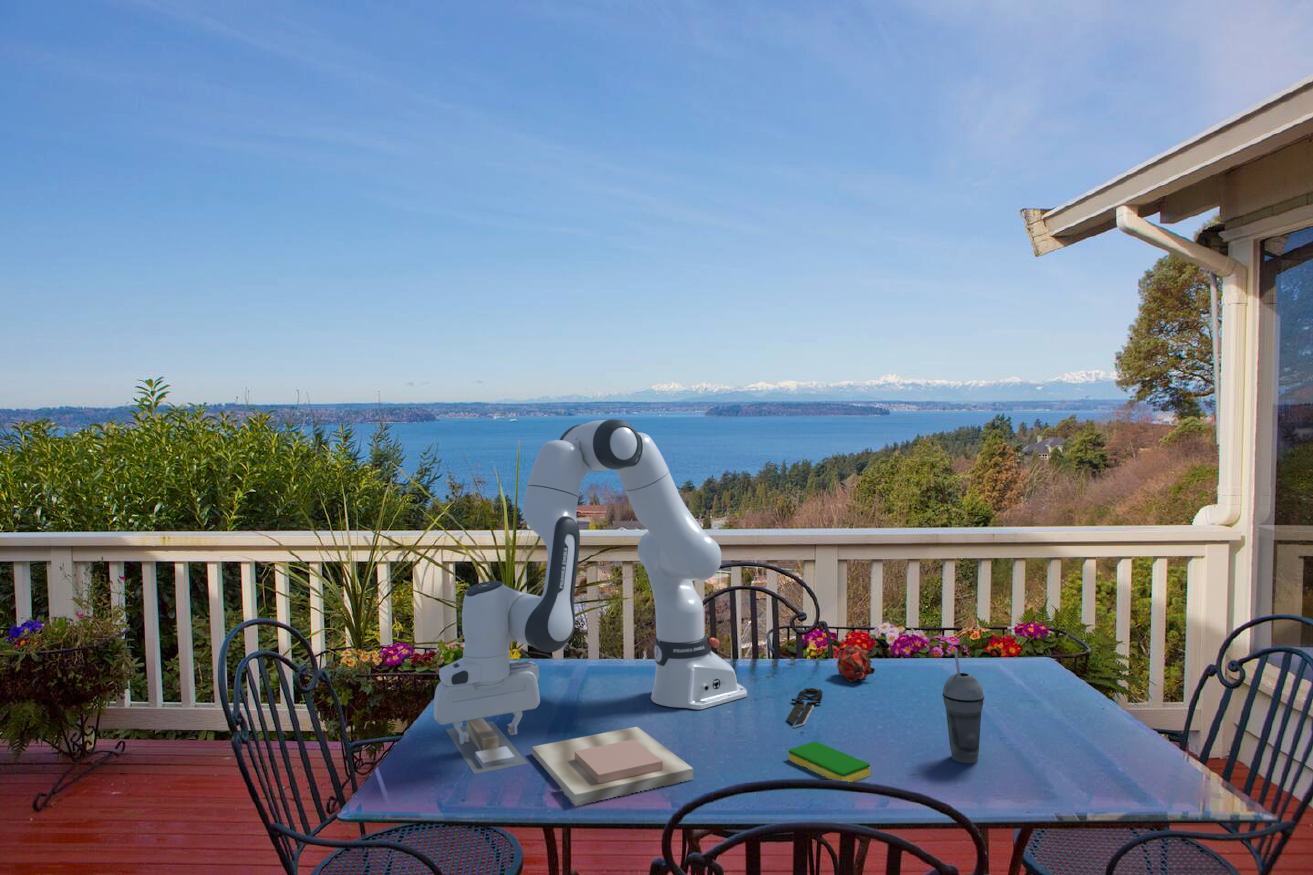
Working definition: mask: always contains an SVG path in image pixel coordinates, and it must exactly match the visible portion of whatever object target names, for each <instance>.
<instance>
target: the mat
mask: <svg viewBox="0 0 1313 875" xmlns="http://www.w3.org/2000/svg"><path fill="white" fill-rule="evenodd" d="M486 722H487V724H488V725H489V726H490V727H491V729H492V730H493V731H494V732H495V733H496V735H497V736H498V741H499V747H504V746H507V747H508V749H509V750H510V751H511V752H512V754H513V755H514V756H515V762H512V763H507V764H502V765H497V766H492V767H487V768H483V767H482V766H481V765H480V763H479V762H478V760H477V759H476V757H475V752H477V751H480V750H479V749H478V748H477V746H476V745H475V743H474V742H473V741H472V739H471V738H470V736H469V743H466V744H461V743H460V740H459V733H458V731H457V730H456V728H455V727H451V728H446V729H445V731H446V733H447V735H448V737H449V738H450V739H451V741H452V742H453V744H454V746H455V747H456V749H457V750H458V751H459V753H460V754H461V756H462V758H463V759H464V761H465V762H466V764H467V766H468V768H470V770H471V772H472V773H473V775H478V774H485V773H488V772H493V771H498V770H503V769H504V770H505V769H508V768H513V767H518V766H523V765H528V764H529V763H528V761H527V760H526V759H525V758H524V757H523V755H522V754H521V753H520V752H519V751H518V750H517V748H516V747H515V746H514V745H513V743H512V742H511V741H510V740H509V739H508V738H507V736H506V735H505V734H504V733H503V732H502V730H501V729H500V728H499V727H498V726H497V725H496V723H495V722H494V721H493V720H491V721H486ZM460 729H461V730H462V732H467V725H463V726H462V727H460Z"/></svg>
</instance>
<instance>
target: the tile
mask: <svg viewBox="0 0 1313 875" xmlns="http://www.w3.org/2000/svg"><path fill="white" fill-rule="evenodd" d="M574 752H575V760H576V761H577V762H578V763H579V764H580V765H581V766H582V767H583V768H584V769H585V770H586V771H587V772H588V773H589V774H590V775H591V776H592V777H593V778H594V779H595V780H596V781H597V782H598V783H599V784H600V783H604V782H609V781H614V780H618V779H623V778H627V777H632V776H636V775H641V774H645V773H650V772H654V771H659V770H663V762H662V760H660V759H659V758H658V757H657V756H655V755H654V754H653V753H651V752H650V751H649V750H648V749H646V748H645V747H644V746H643V745H641V744H640V743H639V742H637V741H636V740H635V739H633V740H628V741H623V742H618V743H613V744H608V745H603V746H598V747H593V748H588V749H583V750H578V751H574Z"/></svg>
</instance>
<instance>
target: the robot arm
mask: <svg viewBox="0 0 1313 875" xmlns="http://www.w3.org/2000/svg"><path fill="white" fill-rule="evenodd" d="M609 470H614V471H615V472H616V474H617V476H618V477H619V480H620V482H621V485H622V488H623V490H624V492H625V494H626V497H627V499H628V501H629V504H630V506H631V509H632V511H633V512H634V515H635V517H636V519H637V520H638V522H639V523H640V524H641V525H642V526H643V527H644V528H646V530H647V532H645V533H644V534H643V535H642V536H641V538H639V542H638V544H637V556H638V559H639V561H640V562H641V564H642V566H643V567H644V569H645V571H646V574H647V577H648V581H649V583H650V587H651V592H652V594H653V595H652V596H653V600H654V610H655V634H656V636H655V637H654V659H655V674H654V683H653V688H652V692H651V696H650V699H651V701H652V702H653V703H655V704H657V705H660V706H664V707H670V708H683V709H684V708H685V709H692V710H704V709H707V708H708V709H709V708H711V707H714V706H718V705H722V704H726V703H729V702H732V701H733V702H734V701H735V700H739V699H743V698H746V697H747V696H748V692H747V691H748V690H747V688H745V687H744V686H743V685H741V684H740V683H738V681H737V675H736V673H735V668H733V667H732V665H731V664H730V663H729V662H727V661H725V659H723V658H721V656H719V655H717V654H716V653H715V652H713V651H712V649H711V647H712V648H713V649H717V648H719V646H720V640H719V639H718V638H715V637H711V638H710V637H709V636H706V635H705V625H704V623H705V622H704V603H703V601H702V599H701V597H700V596H699V594H698V593H697V590H696V589H695V585H694V582H695V581H696V582H697V581H705V580H708V579H711V578H712V577H714V576H715V575H716V573H717V572H718V571H719V569H720V567H721V564H722V556H723V555H722V551H721V547H720V545H719V544H718V542H717V541H715V539H714V538H712V537H711V536H709V535H708V533H707V532H706V531H705V530H704V529H703V528H702V527H701V525H700V524H699V523H698V521H697V520H696V519H695V516H694V515H693V514H692V513H691V511H690V510H689V508H688V507H687V505H686V504H685V503H684V501H683V499H682V497H681V495H680V493H679V491H678V488H677V487H676V484H675V481H674V479H673V477H672V474H671V472H670V470H669V467H668V465H667V463H666V461H665V458H664V457H663V455H662V452H660V450H659V447H658V446H657V445H656V443H655V442H654V441H653V439H652V438H651V436H650V435H648V434H647V433H644V432H637V430H636V429H635V427H633V426H632V425H631V424H629V423H628V422H626V421H624V420H621V419H614V418H613V419H612V418H611V419H610V418H609V419H607V420H605V419H601V420H600V419H599V420H592V421H589V422H586V423H583V424H576V425H574V426H571V427H570V428H568V429H567V430H566V431H565V432H563V434H562V435H561V436H560V438H559V439H555V440H554V439H553V440H550V441H547V442H545V443H544V444H543V445H542V446H541V447H540V449H539V452H538V453H537V455H536V457H535V461H534V463H533V465H532V468H531V471H530V474H529V477H528V480H527V484H526V488H525V492H524V497H523V502H522V515H523V518H524V520H525V522H526V524H527V526H528V527H529V528H530V529H531V530H532V532H534V533H535V534H537V535H538V537H540V539H541V540H542V541H543V543H544V544H545V547H546V551H547V560H546V561H547V562H546V568H545V578H544V586H543V592H542V595H536V594H533V593H532V594H531V593H527V592H523V591H519V590H516V589H513V588H511V587H509V586H507V585H505V584H504V583H503V582H502V581H499V580H489V581H483V582H478V583H477V584H473V585H472V586H470V587H469V588H468V589H467V590H466V592H465V594H464V597H463V602H462V610H461V611H462V613H461V614H462V615H461V619H462V620H461V629H462V634H463V637H464V645H463V646H464V647H463V649H462V657H461V658H458V659H457V660H455V661H453V662H451V663H449V664H447V665H444V666H442V667H441V668H440V669H439V670H438V674H439V679H440V682H438V684H437V686H436V688H435V691H434V698H433V718H434V720H435V721H436V723H438V724H439V725H440V726H441V725H442V726H443V725H449V724H452V725H453V728H456V730H457V731H458V733H459V740H460V743H461V744H466V743H469V734H468V733H467V732H462V730H461V729H460V727H462V726H464V724H463V722H467V720H473V719H478V718H483V719H485V718H487V717H488V718H489V717H495V716H501V715H507V714H510V713H512V715H514V716H513V718H512V721H511V723H507V725H506V726H507V734H508V736H514V735H518V725H519V724H520V721H521V720H522V717H523V711H530V710H535V709H536V708H538V707H539V705H540V703H541V699H540V698H541V697H540V691H539V683H538V680H539V678H540V672H539V671H540V670H539V666H538V665H537V663H535V662H532V661H531V660H526V661H525V660H524V661H522V662H521V661H520V662H512V663H511V662H510V661H511V660H510V658H511V657H510V656H511V655H510V644H511V643H513V642H518V643H520V644H523V645H527V646H530V647H532V648H535V649H537V650H539V651H541V652H543V653H548V654H549V653H555V652H557V651H560V650H561V649H562V648H564V647H565V646H566V644H568V642H569V641H570V640H571V638H572V636H573V634H574V632H575V629H576V628H575V627H576V610H575V593H576V584H577V574H578V566H579V557H580V556H579V555H580V546H581V545H580V544H581V541H580V540H581V535H580V533H581V532H580V531H581V530H580V527H579V525H578V524H577V523H578V522H577V521H578V520H577V510H578V503H579V498H580V492H581V488H582V483H583V480H584V478H585V476H587V474H588V473H589V472H590V473H601V472H604V471H605V472H606V471H609Z"/></svg>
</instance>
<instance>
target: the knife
mask: <svg viewBox="0 0 1313 875" xmlns="http://www.w3.org/2000/svg"><path fill="white" fill-rule="evenodd" d="M809 695H810V696H809ZM803 697H804V698H805V700H808V701H807V702H806V704H805V701H804V700H803ZM822 698H823V690H822V689H820V688H819V689H818V688H814V687H809V688H808V687H806V688H803V690H800V691H799V693H798V694H797V698H791V704H795V705H794V706H793V708H792V709H791V711H790V713H789V715H788V716H787V718H786V720H787V721H788V722H789V723H790V724H792V725H794V726H793V728H794V729H795V728H799V727H801V726H805V724H806V723H807V720H808V719H809V717H810V715H811V713H812V711H813V710H814V708H815V707H816V706H819V707H820V706H821V702H822ZM809 700H810V701H809Z"/></svg>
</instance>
